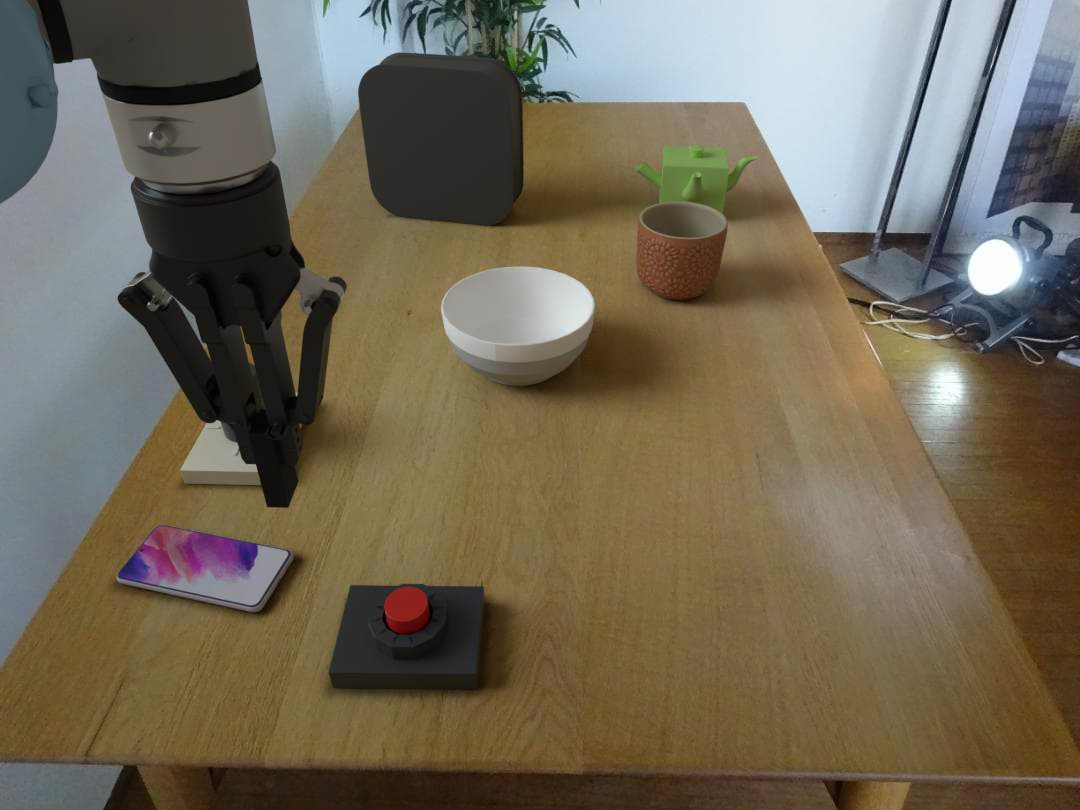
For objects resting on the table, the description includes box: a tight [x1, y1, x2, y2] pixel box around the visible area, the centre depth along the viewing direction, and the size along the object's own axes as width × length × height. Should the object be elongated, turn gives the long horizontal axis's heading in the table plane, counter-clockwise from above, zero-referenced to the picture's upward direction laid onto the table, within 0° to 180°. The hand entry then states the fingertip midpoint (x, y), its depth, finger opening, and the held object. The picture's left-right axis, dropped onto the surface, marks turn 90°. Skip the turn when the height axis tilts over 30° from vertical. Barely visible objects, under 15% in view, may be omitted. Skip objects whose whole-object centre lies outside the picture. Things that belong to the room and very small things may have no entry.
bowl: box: [440, 266, 596, 387], centre depth 101 cm, size 19×19×9 cm
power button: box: [384, 587, 430, 634], centre depth 67 cm, size 4×4×2 cm
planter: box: [635, 201, 728, 301], centre depth 116 cm, size 12×12×11 cm
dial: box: [220, 361, 265, 442], centre depth 88 cm, size 5×5×8 cm
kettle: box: [635, 144, 760, 215], centre depth 137 cm, size 15×14×11 cm
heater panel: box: [179, 391, 303, 486], centre depth 91 cm, size 14×10×2 cm
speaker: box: [357, 52, 525, 226], centre depth 133 cm, size 25×9×25 cm, turn 77°
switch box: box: [328, 583, 486, 690], centre depth 69 cm, size 12×9×4 cm
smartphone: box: [115, 524, 294, 613], centre depth 76 cm, size 7×1×15 cm
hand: (283, 493), depth 57 cm, fingers closed
